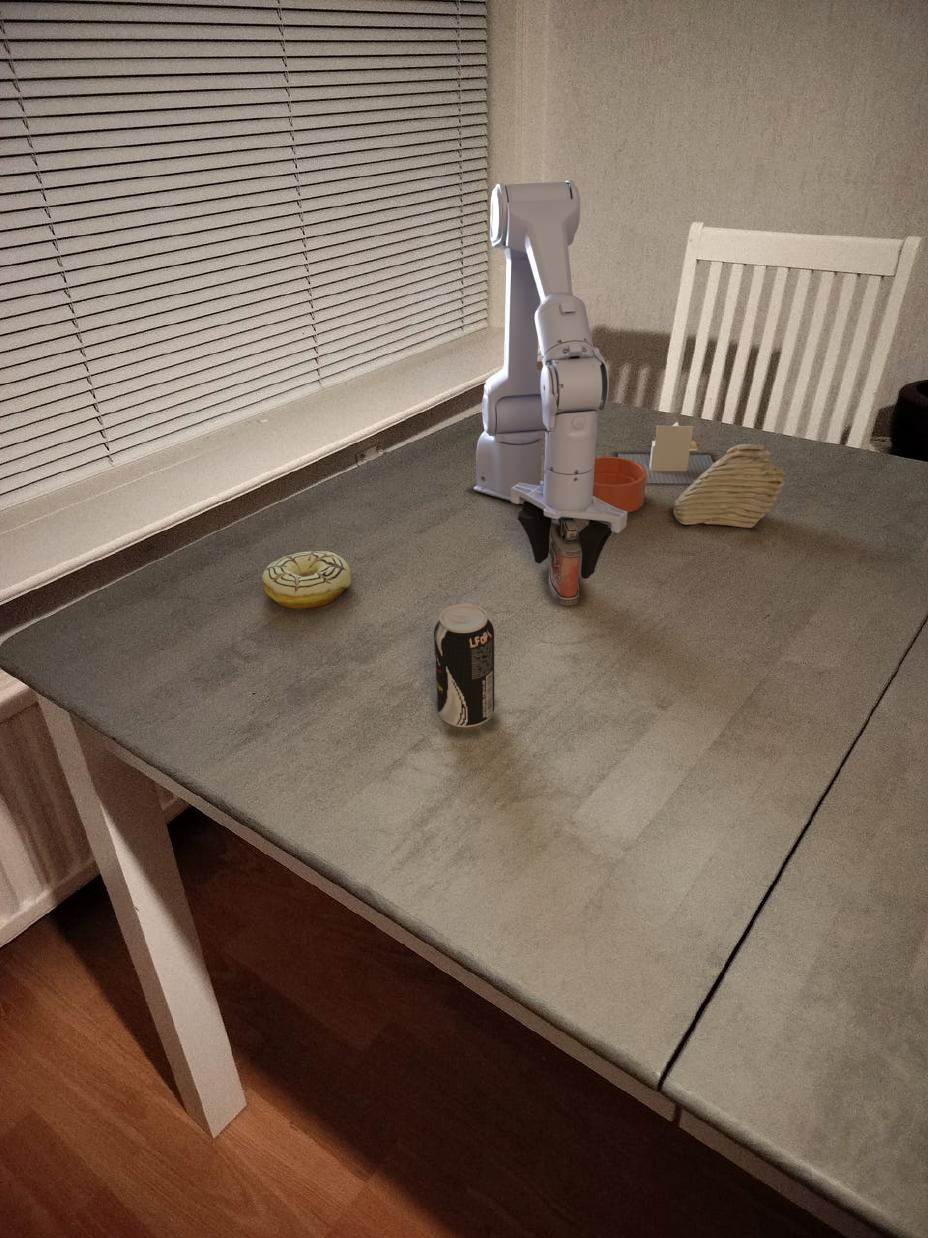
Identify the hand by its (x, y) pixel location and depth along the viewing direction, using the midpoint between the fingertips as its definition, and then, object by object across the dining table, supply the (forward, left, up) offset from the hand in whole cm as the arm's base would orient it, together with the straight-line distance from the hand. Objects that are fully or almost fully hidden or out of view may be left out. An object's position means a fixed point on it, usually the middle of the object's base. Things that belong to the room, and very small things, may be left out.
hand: (564, 567), depth 102 cm
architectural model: (-4, +41, -3) cm, 41 cm away
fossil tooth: (+10, +29, -3) cm, 30 cm away
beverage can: (+4, -26, -3) cm, 27 cm away
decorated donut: (-26, -18, -3) cm, 32 cm away
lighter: (0, 0, -3) cm, 3 cm away
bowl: (-7, +25, -3) cm, 26 cm away
